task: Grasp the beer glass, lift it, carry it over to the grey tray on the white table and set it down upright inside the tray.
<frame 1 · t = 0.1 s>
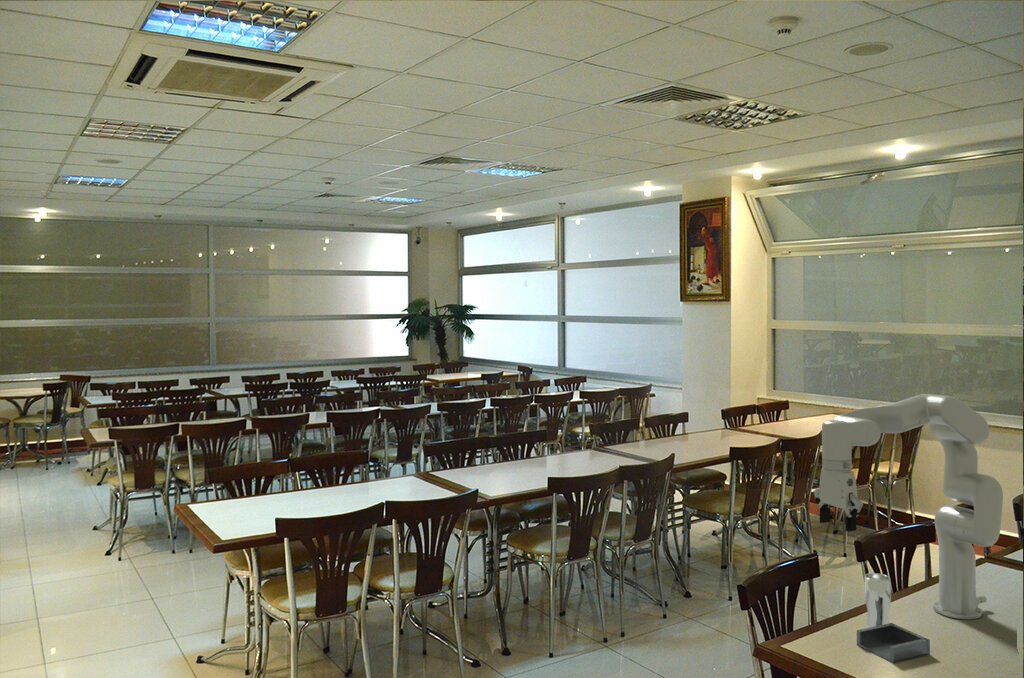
hand: (837, 526, 218), 31 cm above the table, tool pointing down, fingers open, 9 cm apart
grey tray: (892, 649, 210), on the table
beer glass: (878, 629, 223), on the table
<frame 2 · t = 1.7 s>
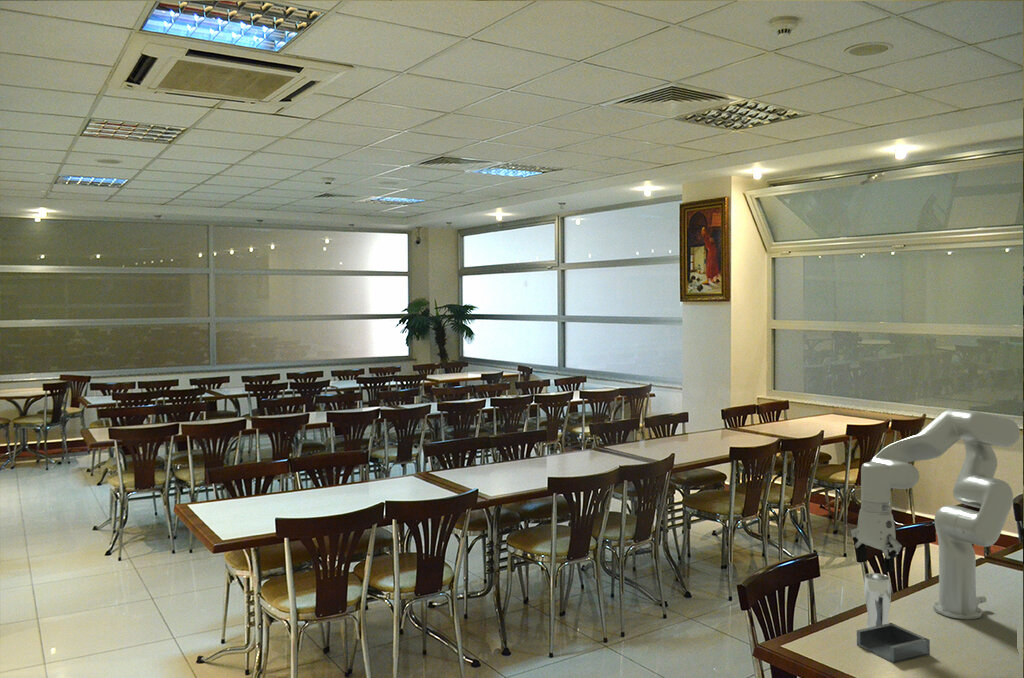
hand: (875, 566, 223), 18 cm above the table, tool pointing down, fingers open, 9 cm apart
nothing on the table moved.
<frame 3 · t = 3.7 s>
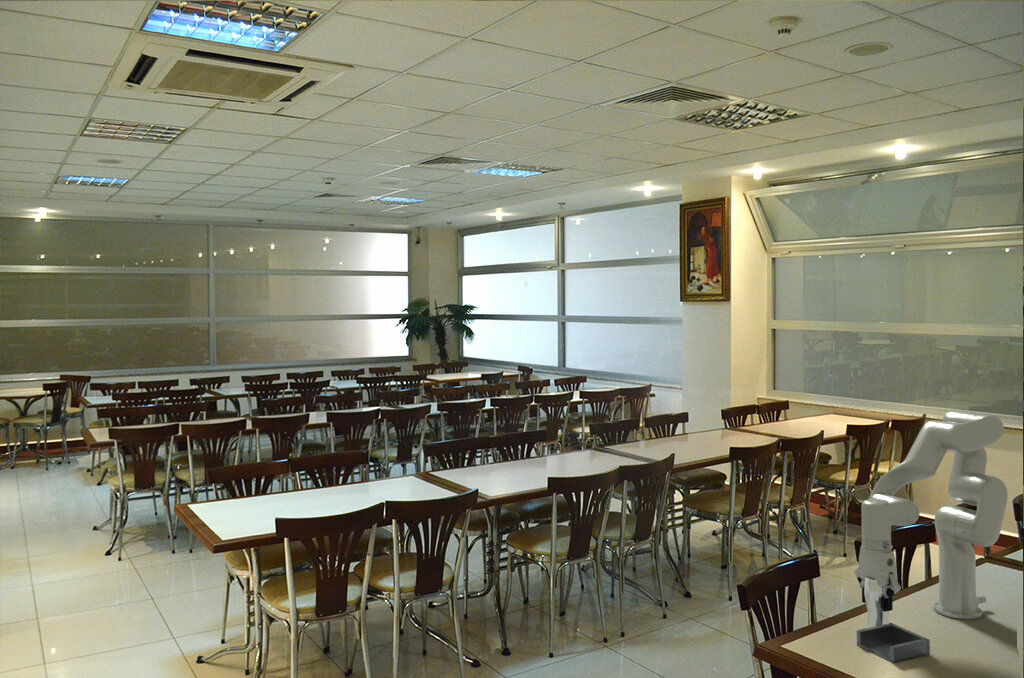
hand: (877, 605, 223), 7 cm above the table, tool pointing down, fingers closed on beer glass, 6 cm apart
beer glass: (878, 629, 223), on the table, touching gripper
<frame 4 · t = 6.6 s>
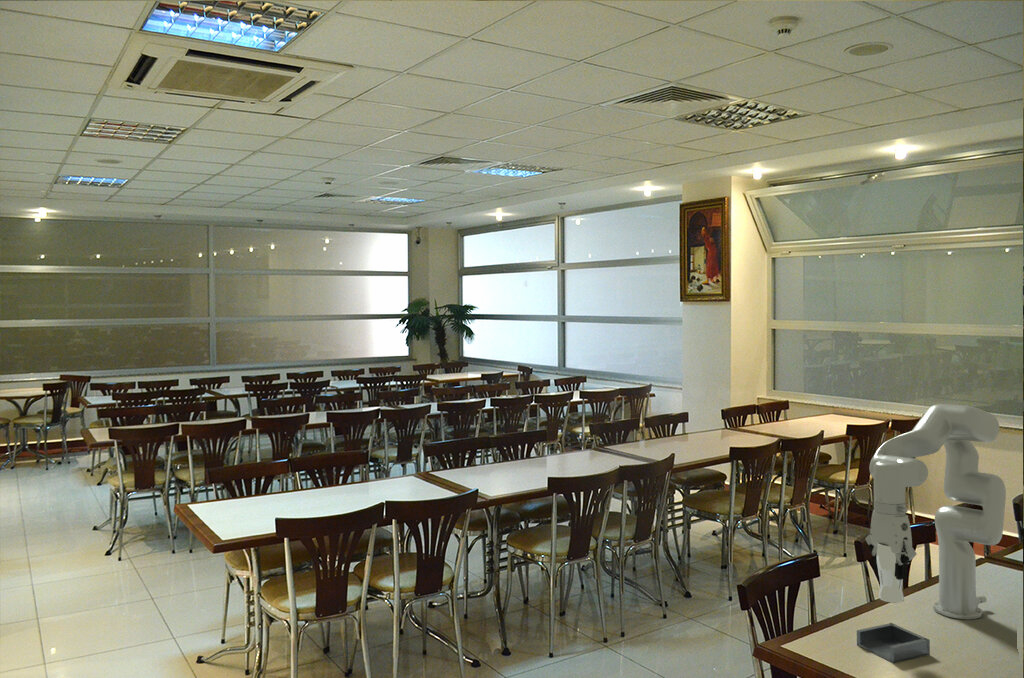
hand: (890, 574, 209), 20 cm above the table, tool pointing down, fingers closed on beer glass, 6 cm apart
beer glass: (891, 599, 209), point 14 cm above the table, touching gripper
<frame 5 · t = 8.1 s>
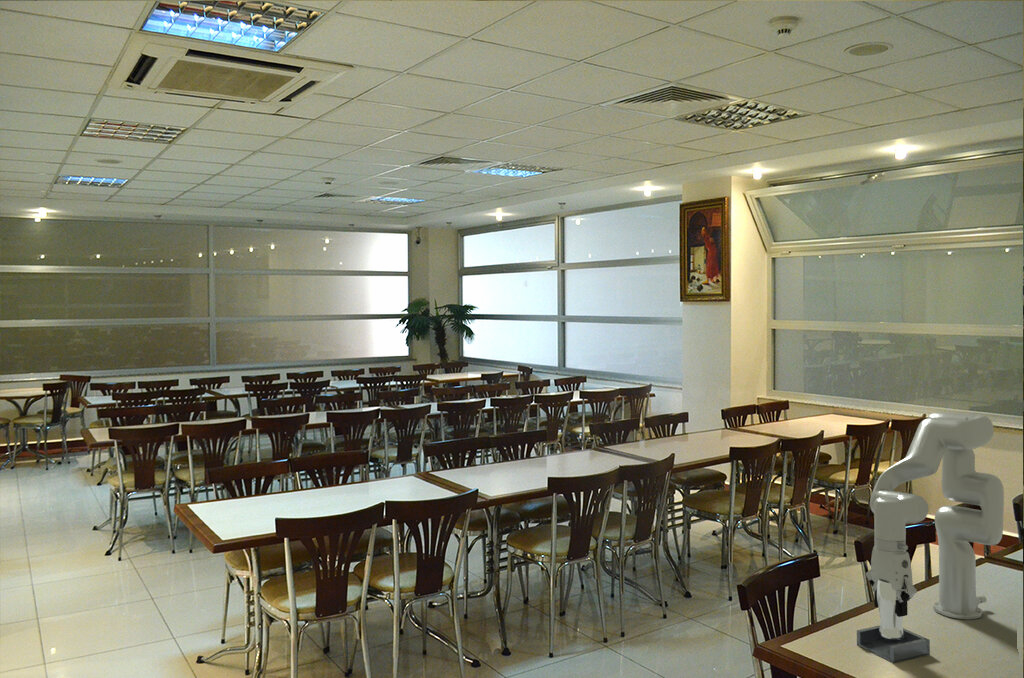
hand: (890, 610, 209), 11 cm above the table, tool pointing down, fingers closed on beer glass, 6 cm apart
beer glass: (891, 635, 209), point 4 cm above the table, touching gripper
when the fingers open (8 cm above the table, at t = 9.5 s): beer glass drops 1 cm, resting on grey tray.
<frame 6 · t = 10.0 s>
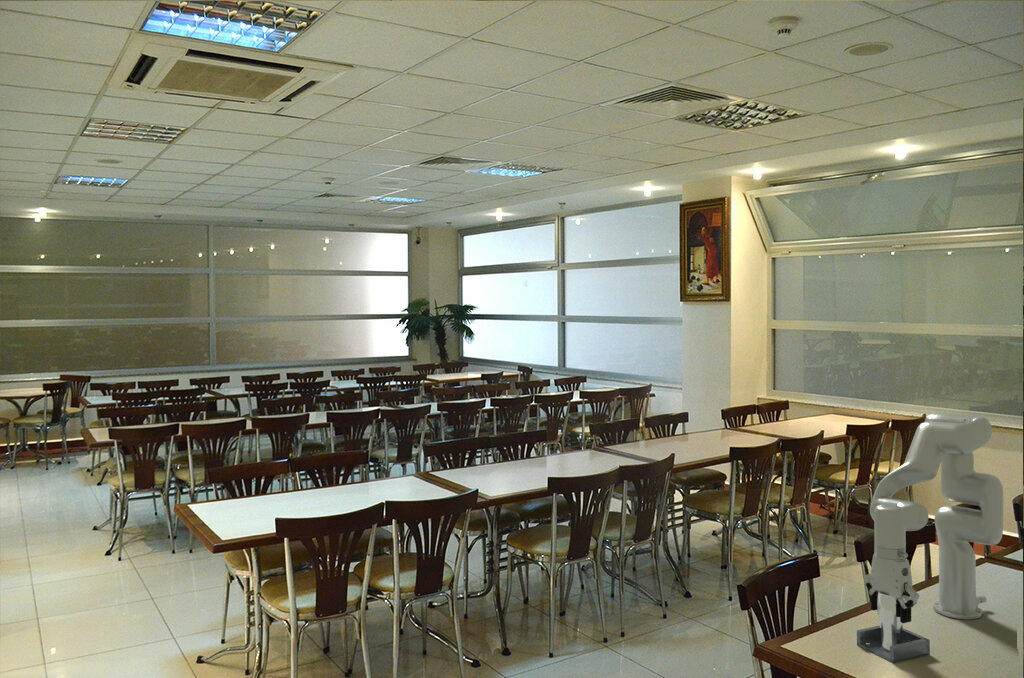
hand: (890, 615, 209), 9 cm above the table, tool pointing down, fingers open, 9 cm apart
beer glass: (892, 648, 210), resting on grey tray
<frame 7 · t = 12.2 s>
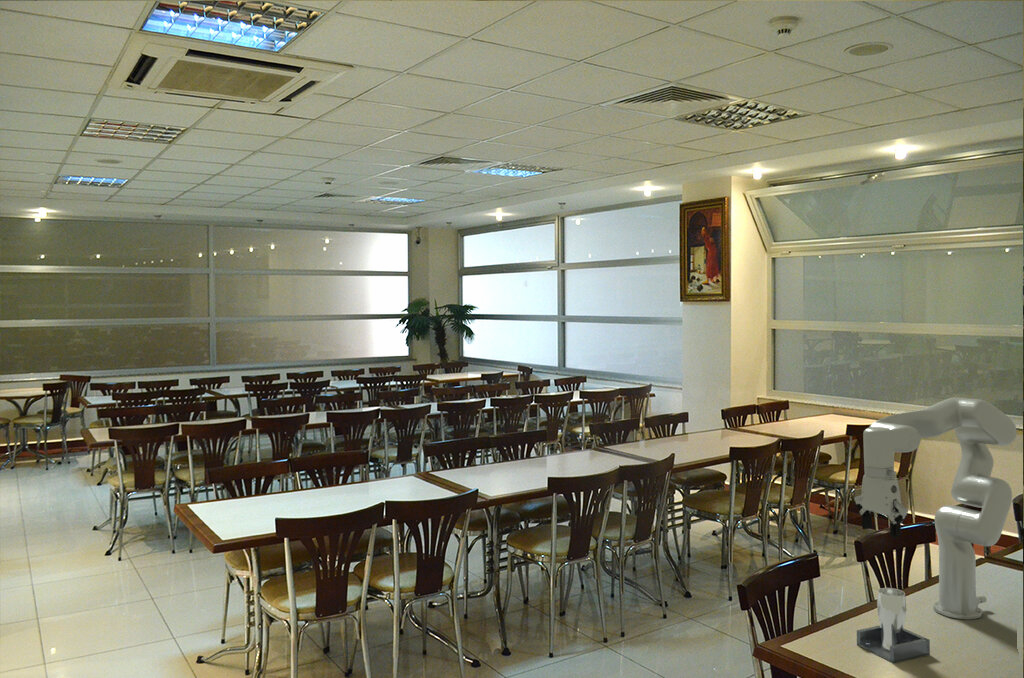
hand: (881, 532, 219), 29 cm above the table, tool pointing down, fingers open, 9 cm apart
nothing on the table moved.
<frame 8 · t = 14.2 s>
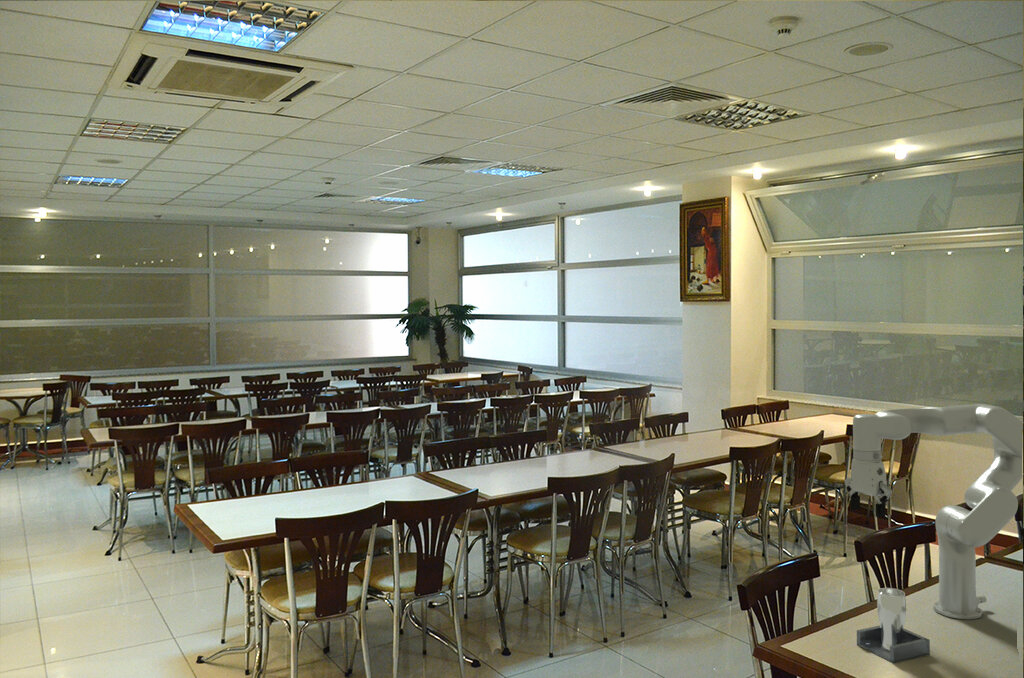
hand: (867, 512, 234), 30 cm above the table, tool pointing down, fingers open, 9 cm apart
nothing on the table moved.
at the end: beer glass inside the target area on the grey tray (0.4 cm from its centre), point 0.4 cm above the grey tray's base; beer glass tilted 0°; the gripper is holding nothing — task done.
